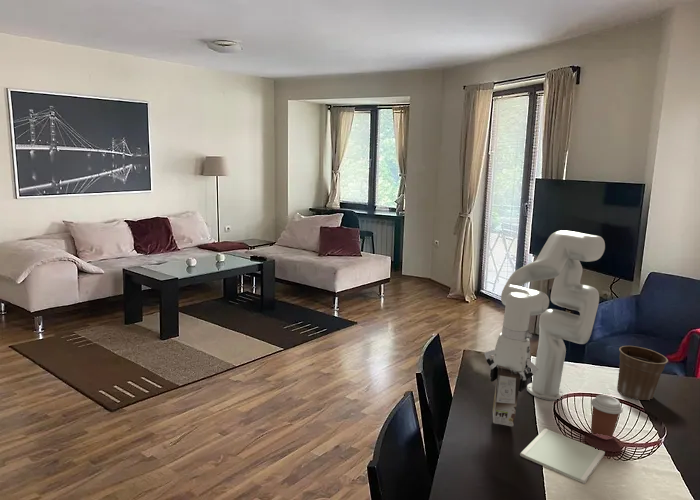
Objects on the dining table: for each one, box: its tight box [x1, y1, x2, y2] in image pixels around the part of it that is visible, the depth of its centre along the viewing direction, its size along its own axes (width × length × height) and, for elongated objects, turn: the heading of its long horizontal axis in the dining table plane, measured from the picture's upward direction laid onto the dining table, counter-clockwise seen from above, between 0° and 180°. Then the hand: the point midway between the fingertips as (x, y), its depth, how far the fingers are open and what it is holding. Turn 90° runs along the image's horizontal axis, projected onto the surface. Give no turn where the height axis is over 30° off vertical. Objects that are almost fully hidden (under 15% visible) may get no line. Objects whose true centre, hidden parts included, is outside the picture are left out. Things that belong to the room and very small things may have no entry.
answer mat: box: [519, 427, 606, 484], centre depth 160 cm, size 20×18×1 cm
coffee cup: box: [590, 394, 624, 436], centre depth 173 cm, size 9×9×12 cm
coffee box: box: [492, 365, 522, 427], centre depth 171 cm, size 9×6×16 cm
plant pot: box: [616, 345, 669, 401], centre depth 205 cm, size 16×16×16 cm
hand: (507, 384), depth 170 cm, fingers closed on coffee box, 8 cm apart
